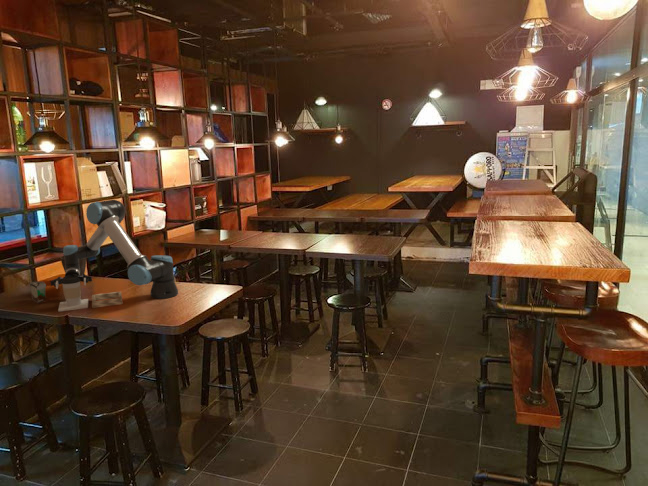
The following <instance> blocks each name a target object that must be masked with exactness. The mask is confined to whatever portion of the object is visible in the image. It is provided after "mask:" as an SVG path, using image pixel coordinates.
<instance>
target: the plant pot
mask: <svg viewBox="0 0 648 486" xmlns="http://www.w3.org/2000/svg"><path fill="white" fill-rule="evenodd" d="M59 259H60V262H61V265H62V268H63V271H64V272H65V273H66V270H65V260H64V255H63V256H60V258H59ZM79 267H80V276H82V275H83V274H85V273H86V268H87V258H84V259H80V260H79Z"/></svg>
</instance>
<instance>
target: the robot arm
mask: <svg viewBox="0 0 648 486" xmlns="http://www.w3.org/2000/svg"><path fill="white" fill-rule="evenodd" d="M85 212H86V215H85V216H86V218H87V221H88V222H89V223H90V224H91V225H96V226H97V228H96V229H95V231H94V232H93V234H91V236H90V238H89V239H88V240H87V242H86V243H85V245H82V246H78V245H77V244H68V245H65V246H64V247H63V256H64V260H65V270H66V273H65V274H64V276H63V277H61V276H58V277H57V278H55V279H52V280H50V287H52V286H53V287H54V288H55V289H57V290H58V288H59V285H62V280H63V279H64V278H66V277H71V276H77V277H78V278H80V280H81V281H80V282H82V283H84V286H87V283H90V282H91V283H92V282H93V279H92V276H90V275H88V274H87V275H86V274H85V273H84V274H83V275H82V276H80V267H79V260H80V259H84V258H86V259H89V258H92V257H96V256H98V255H99V254H100V253H101V246H103V244H104V242H106V240H107V238H108V237H109V239H110V240H111V242H112V243H113V244H114V246H115V247H116V249H117V250H118V251H119V253H120V255H121V256H122V257H123V259H124V260H125V262H126V263H127V266H126V268H127V277H128V279H129V280H130V282H131V283H132V284H134V285H136V286H144V285H148V284H149V283H152V286H151V289H150V293H149V294H150V297H151V298H153V299H169V298H174V297H176V296H177V294H178V295H179V289H178V286H177V285H176V283H175V275H174V262H173V257H172V256H170V255H160V254H159V255H157V254H156V255H151V256H150V259H149V257H148V256H147V255H144V254H142V253H141V252H140V250H139V248H138V247H137V246H136V244H135V243H134V241H133V240H132V239H131V237H130V236H129V234H128V232H126V230H125V228H124V227H123V226H122V224H121V223H122V222H123V220H124V218H125V216H126V214H127V213H126V207H125V205H124V204H123V203H122V202H121V201H120V200H117V199H109V200H103V201H95V202H91V203H90V204H88V206H87V208H86V211H85ZM173 296H174V297H173Z"/></svg>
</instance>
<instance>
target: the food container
mask: <svg viewBox="0 0 648 486" xmlns="http://www.w3.org/2000/svg"><path fill="white" fill-rule="evenodd" d="M29 287H30V293H31V298H32V301H33V300H34V301H33V302H35V303H37V304H42V303H45V302H46V301H45V300H46V288H47V285H46V283H45V281H32V282H29ZM41 302H42V303H41Z"/></svg>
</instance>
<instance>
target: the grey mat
mask: <svg viewBox="0 0 648 486" xmlns="http://www.w3.org/2000/svg"><path fill="white" fill-rule="evenodd" d="M88 308H89V298H84V299H81V304H79V305H76V306H67V304H66V301H61V302H59V305H58V310H57V311H58V312H66V311H72V310H73V311H74V310H83V309H88Z"/></svg>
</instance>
